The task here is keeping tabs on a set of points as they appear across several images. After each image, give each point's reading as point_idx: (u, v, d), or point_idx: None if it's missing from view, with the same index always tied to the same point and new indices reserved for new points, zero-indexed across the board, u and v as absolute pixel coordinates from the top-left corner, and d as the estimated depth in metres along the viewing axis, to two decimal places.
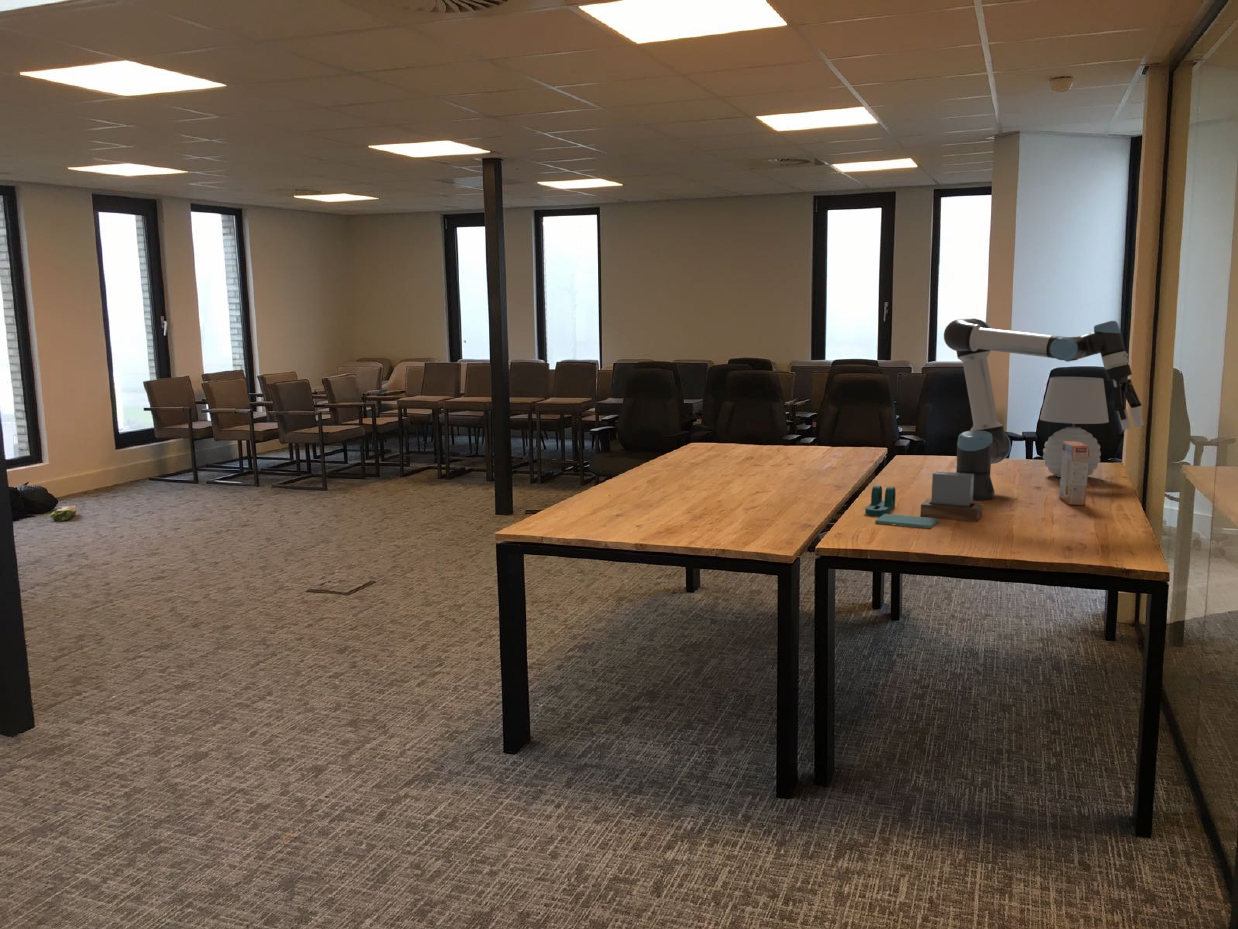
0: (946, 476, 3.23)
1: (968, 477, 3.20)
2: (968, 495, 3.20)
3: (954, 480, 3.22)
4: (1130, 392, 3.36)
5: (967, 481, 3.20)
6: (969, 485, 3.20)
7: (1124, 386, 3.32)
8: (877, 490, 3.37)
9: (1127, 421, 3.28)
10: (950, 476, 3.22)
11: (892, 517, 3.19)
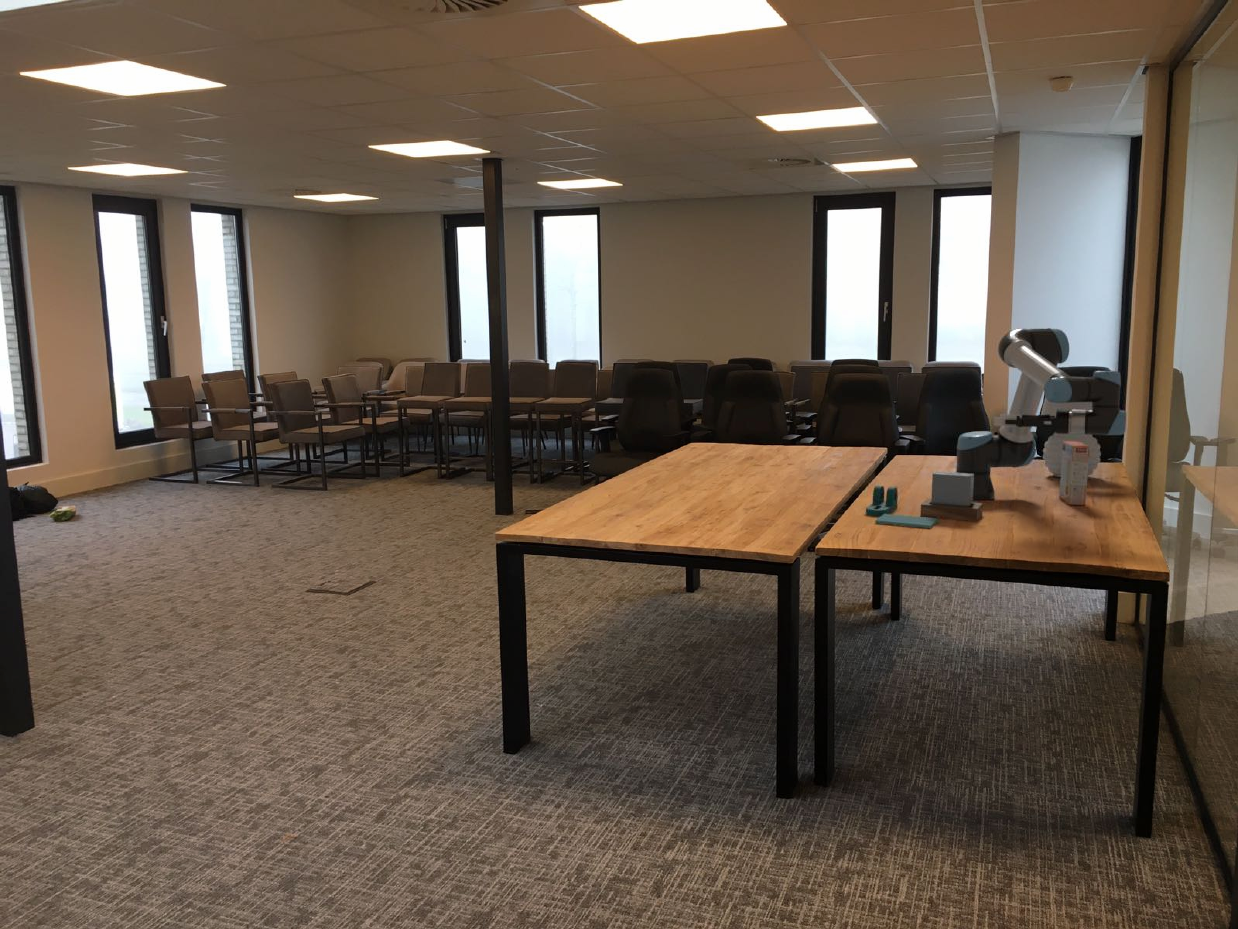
0: (946, 476, 3.23)
1: (968, 477, 3.20)
2: (968, 495, 3.20)
3: (953, 480, 3.22)
4: None
5: (967, 481, 3.20)
6: (969, 485, 3.20)
7: None
8: (879, 490, 3.37)
9: (1001, 424, 3.09)
10: (950, 476, 3.22)
11: (892, 517, 3.19)
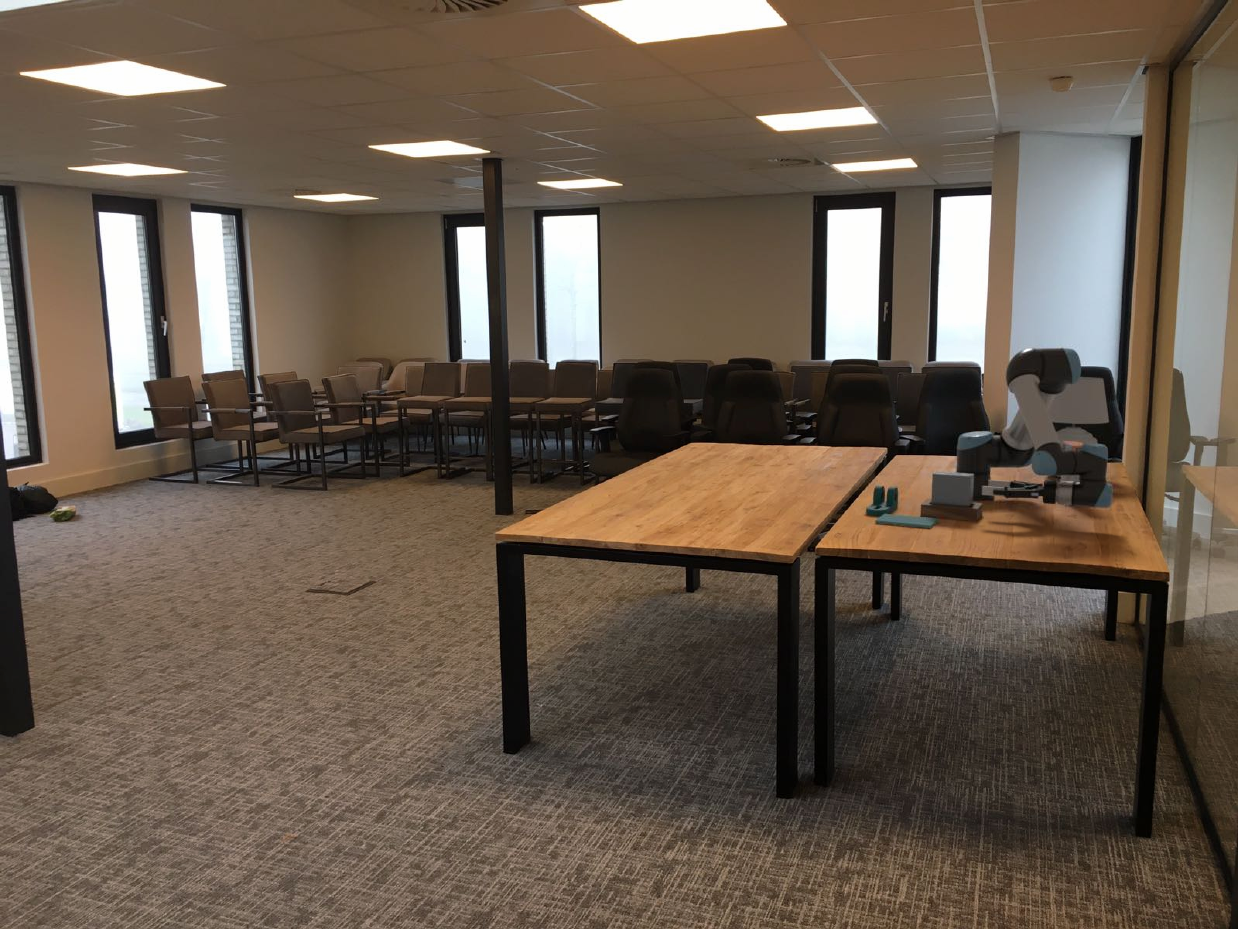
0: (946, 476, 3.23)
1: (968, 477, 3.20)
2: (968, 495, 3.20)
3: (953, 480, 3.22)
4: None
5: (967, 481, 3.20)
6: (969, 485, 3.20)
7: None
8: (879, 490, 3.37)
9: (989, 494, 3.13)
10: (950, 476, 3.22)
11: (892, 517, 3.19)
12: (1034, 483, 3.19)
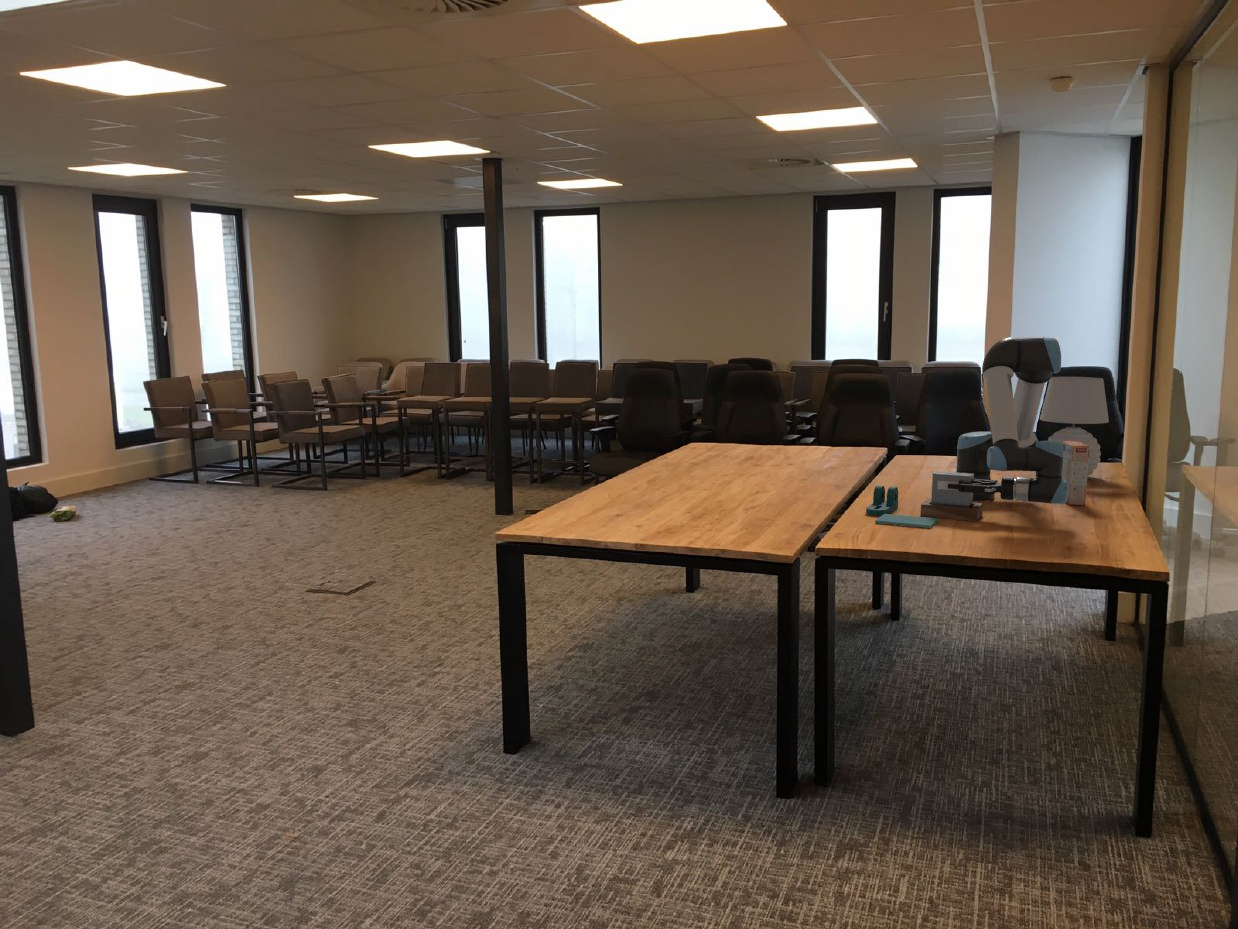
0: (946, 476, 3.23)
1: (968, 477, 3.20)
2: (968, 495, 3.20)
3: (954, 480, 3.22)
4: None
5: (967, 481, 3.20)
6: None
7: None
8: (879, 490, 3.37)
9: (945, 488, 3.23)
10: (950, 476, 3.22)
11: (892, 517, 3.19)
12: (989, 480, 3.25)
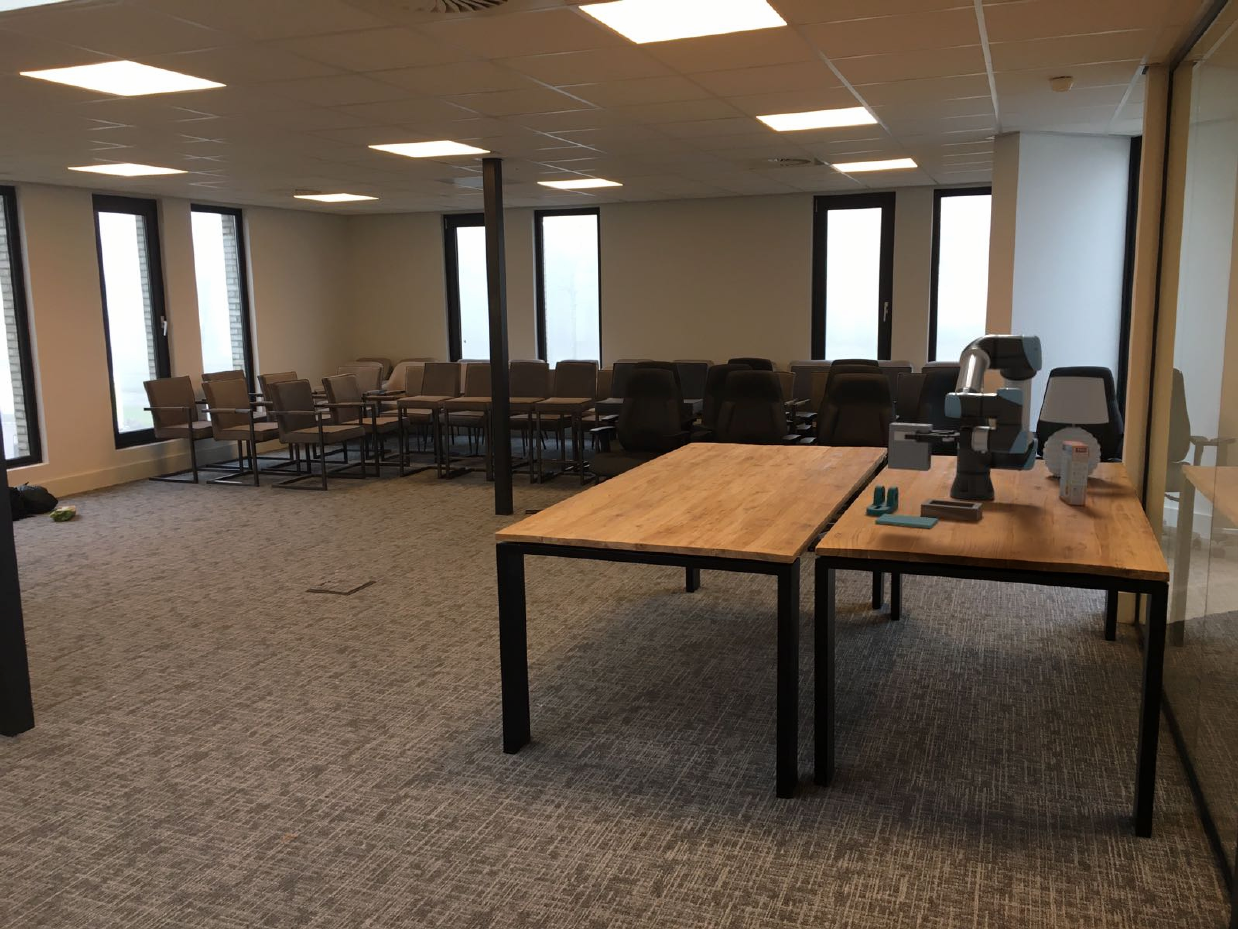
0: (903, 426, 3.10)
1: (926, 427, 3.06)
2: (926, 446, 3.07)
3: (911, 430, 3.09)
4: None
5: (925, 431, 3.07)
6: None
7: None
8: (879, 490, 3.37)
9: (901, 439, 3.10)
10: (907, 426, 3.09)
11: (892, 517, 3.19)
12: None
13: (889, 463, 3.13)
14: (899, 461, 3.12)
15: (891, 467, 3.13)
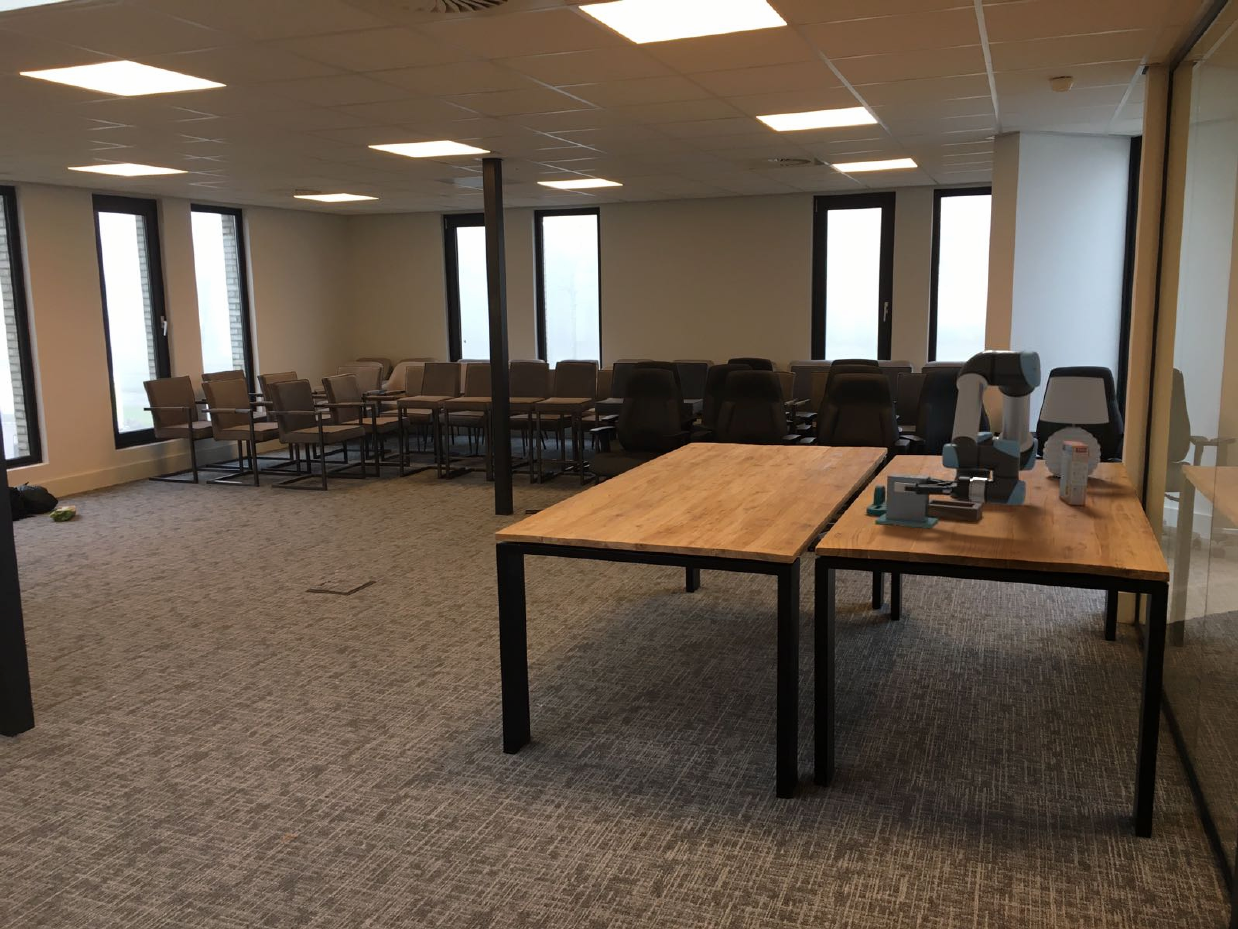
0: (901, 478, 3.12)
1: (923, 479, 3.09)
2: (923, 498, 3.10)
3: (909, 483, 3.11)
4: None
5: (923, 484, 3.09)
6: None
7: None
8: (880, 490, 3.37)
9: (902, 490, 3.09)
10: (905, 478, 3.12)
11: None
12: (949, 480, 3.15)
13: (887, 514, 3.16)
14: (897, 513, 3.14)
15: (889, 518, 3.16)
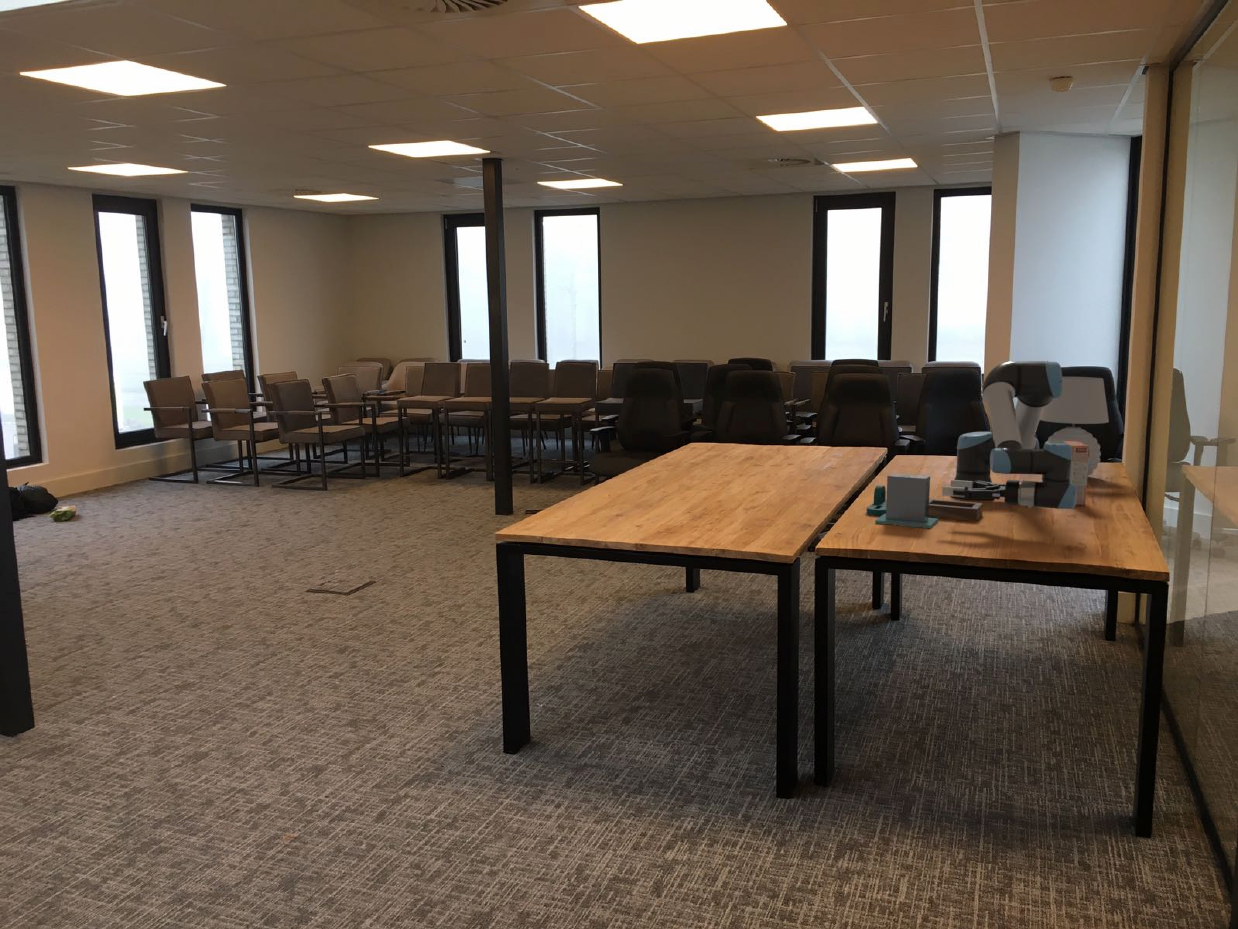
0: (901, 478, 3.12)
1: (923, 479, 3.09)
2: (923, 498, 3.10)
3: (909, 483, 3.11)
4: None
5: (923, 484, 3.09)
6: (924, 488, 3.09)
7: None
8: (880, 490, 3.37)
9: (950, 494, 3.02)
10: (905, 478, 3.12)
11: None
12: None
13: (887, 514, 3.16)
14: (897, 513, 3.14)
15: (889, 518, 3.16)
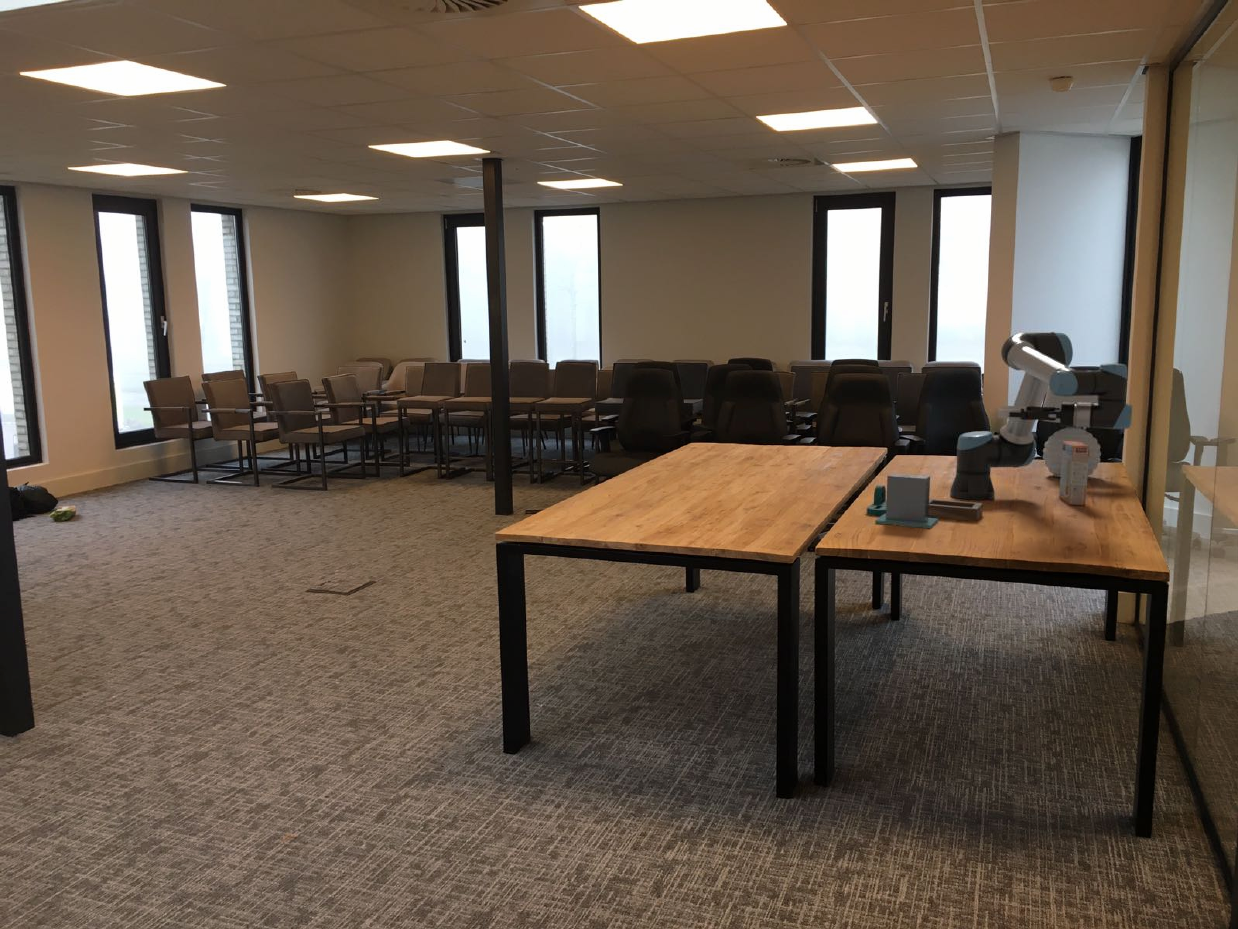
0: (901, 478, 3.12)
1: (923, 479, 3.09)
2: (923, 498, 3.10)
3: (909, 483, 3.11)
4: None
5: (923, 484, 3.09)
6: (924, 488, 3.09)
7: None
8: (880, 490, 3.37)
9: (1006, 417, 3.06)
10: (905, 478, 3.12)
11: None
12: None
13: (887, 514, 3.16)
14: (897, 513, 3.14)
15: (889, 518, 3.16)
